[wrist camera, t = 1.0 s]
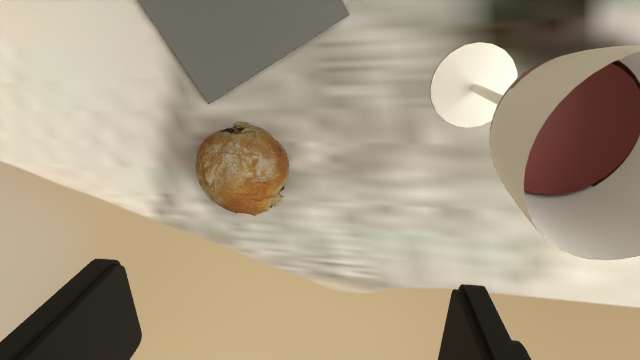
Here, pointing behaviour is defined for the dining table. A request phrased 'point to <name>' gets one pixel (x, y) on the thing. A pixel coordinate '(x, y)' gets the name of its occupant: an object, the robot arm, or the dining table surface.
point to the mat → (237, 35)
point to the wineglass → (558, 139)
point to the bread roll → (242, 169)
